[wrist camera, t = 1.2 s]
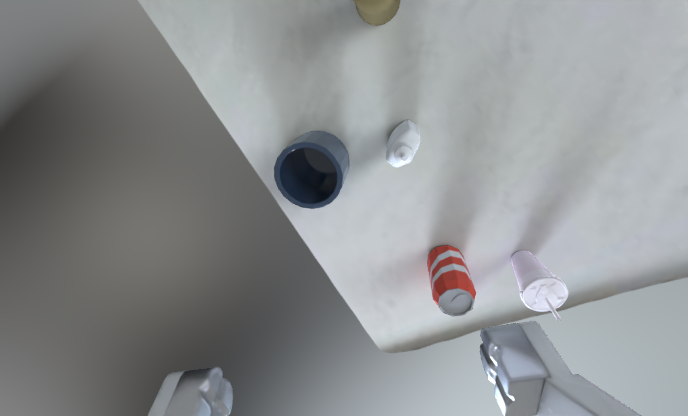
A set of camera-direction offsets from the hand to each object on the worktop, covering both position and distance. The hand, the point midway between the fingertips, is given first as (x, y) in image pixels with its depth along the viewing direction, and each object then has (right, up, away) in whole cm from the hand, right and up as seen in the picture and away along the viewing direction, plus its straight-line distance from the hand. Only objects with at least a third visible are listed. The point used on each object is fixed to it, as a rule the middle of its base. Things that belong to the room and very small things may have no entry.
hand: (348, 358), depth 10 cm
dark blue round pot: (-4, +13, +44) cm, 46 cm away
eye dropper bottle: (+9, +16, +41) cm, 45 cm away
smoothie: (+31, -4, +47) cm, 57 cm away
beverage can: (+18, -4, +49) cm, 53 cm away
